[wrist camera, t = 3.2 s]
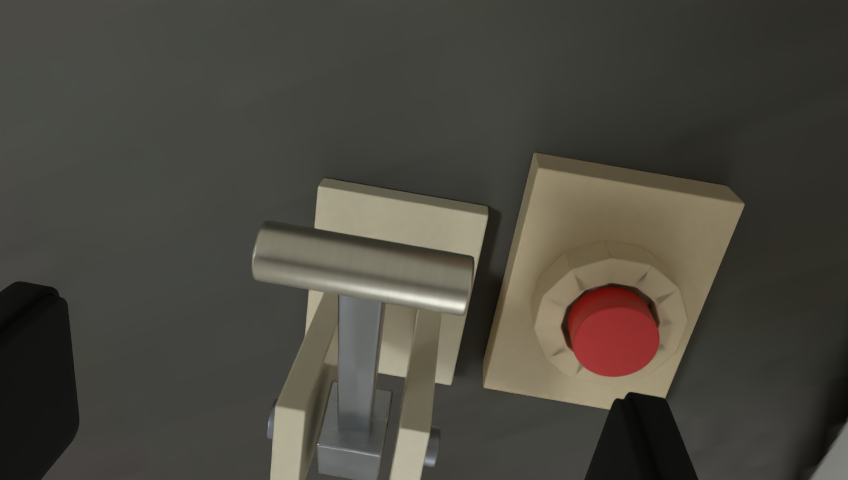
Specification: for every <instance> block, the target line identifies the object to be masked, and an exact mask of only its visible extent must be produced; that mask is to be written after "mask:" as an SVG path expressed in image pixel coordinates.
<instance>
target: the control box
mask: <svg viewBox="0 0 848 480" xmlns="http://www.w3.org/2000/svg"><path fill="white" fill-rule="evenodd" d="M744 205H745V204H744V203H743V202H742V200H741V199H740V198H739V197H738V196H737V195H736V194H735V193H734V192H733V191H732V190H731V189H730V188H729V187H728V186H725V185H719V184H713V183H707V182H702V181H696V180H690V179H684V178H679V177H673V176H667V175H661V174H656V173H650V172H644V171H638V170H633V169H627V168H621V167H615V166H610V165H604V164H598V163H592V162H587V161H581V160H575V159H570V158H564V157H558V156H552V155H547V154H541V153H534V154H533V158H532V162H531V166H530V171H529V175H528V179H527V183H526V187H525V191H524V195H523V199H522V204H521V208H520V212H519V216H518V220H517V224H516V228H515V232H514V236H513V241H512V245H511V249H510V253H509V257H508V261H507V265H506V269H505V273H504V278H503V282H502V286H501V290H500V294H499V298H498V302H497V306H496V310H495V315H494V319H493V323H492V327H491V331H490V335H489V339H488V343H487V348H486V352H485V356H484V360H483V386H484V388H489V389H494V390H500V391H506V392H512V393H517V394H523V395H529V396H535V397H540V398H546V399H552V400H558V401H563V402H569V403H575V404H580V405H586V406H592V407H598V408H603V409H609V410H610V408H611V406H612V403H613V401H614V400H615V399H616V398H620V399H624V398H625V396H626V395H627V393H628V392H635V393H641V394H647V395H652V396H658V397H663V398H664V399H665V397H666V395H667V392H668V390H669V387H670V385H671V382H672V380H673V378H674V375H675V373H676V370H677V368H678V365H679V363H680V361H681V358H682V356H683V353H684V351H685V348H686V346H687V344H688V341H689V339H690V336H691V334H692V331H693V329H694V327H695V324H696V322H697V319H698V317H699V315H700V312H701V310H702V307H703V305H704V302H705V300H706V298H707V295H708V293H709V290H710V288H711V285H712V283H713V281H714V278H715V276H716V273H717V271H718V268H719V266H720V264H721V261H722V259H723V256H724V254H725V251H726V249H727V247H728V244H729V242H730V239H731V237H732V235H733V232H734V230H735V227H736V225H737V222H738V220H739V218H740V215H741V213H742V210H743V208H744ZM603 287H621V288H625V289H628V290H630V291H632V292H634V293H636V294H637V295H639V296H640V297H641V298H642V299H643V300H644V301H645V302H646V304H647V306H648V308H649V310H650V312H651V314H652V317H653V319H654V321H655V323H656V325H657V328H658V330H659V335H660V342H659V347H658V350H657V352H656V354H655V356H654V357H653V359H652V360H651V361H650V362H649V363H648V364H647V365H646V366H645V367H643V368H642V369H641V370H639V371H637V372H635V373H632V374H629V375H626V376H621V377H606V376H601V375H598V374H595V373H593V372H591V371H589V370H587V369H586V368H585V367H583V366H582V365H581V364H580V362H579V361H578V360H577V358H576V356H575V354H574V351H573V347H572V342H571V338H570V334H569V329H568V318H569V314H570V312H571V310H572V308H573V306H574V305H575V303H576V302H577V301H578V300H579V299H580V298H581V297H583V296H584V295H585V294H587V293H589V292H591V291H593V290H596V289H599V288H603Z"/></svg>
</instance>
